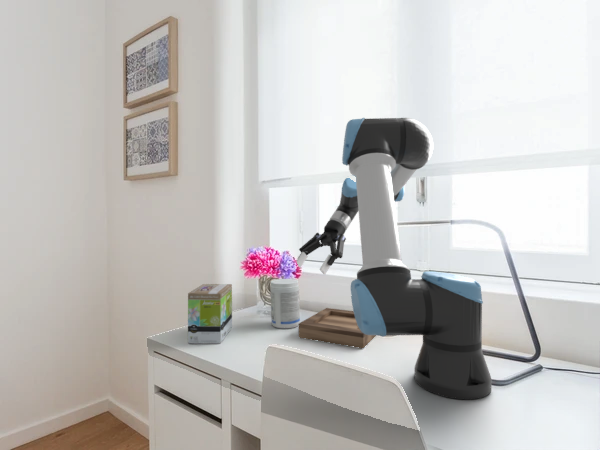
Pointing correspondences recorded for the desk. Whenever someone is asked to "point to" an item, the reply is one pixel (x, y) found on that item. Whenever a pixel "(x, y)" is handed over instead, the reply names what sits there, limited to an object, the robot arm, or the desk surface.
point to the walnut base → (334, 328)
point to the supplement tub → (285, 303)
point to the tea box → (209, 313)
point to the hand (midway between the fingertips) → (308, 269)
